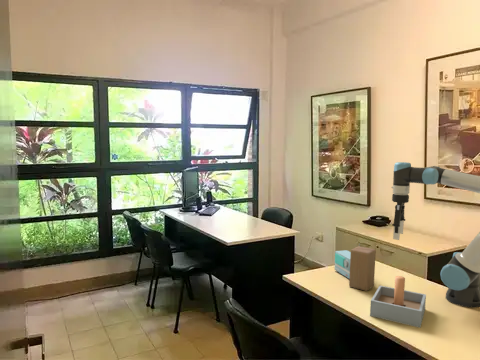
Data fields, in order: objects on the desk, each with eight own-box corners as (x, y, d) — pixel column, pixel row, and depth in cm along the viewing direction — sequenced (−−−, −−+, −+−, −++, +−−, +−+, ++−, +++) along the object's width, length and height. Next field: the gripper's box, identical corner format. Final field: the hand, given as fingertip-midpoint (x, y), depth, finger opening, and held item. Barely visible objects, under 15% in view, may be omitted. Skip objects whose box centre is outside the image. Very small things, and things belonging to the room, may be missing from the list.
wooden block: (356, 281, 208) (357, 245, 205) (374, 286, 201) (376, 249, 199) (348, 286, 200) (350, 249, 198) (367, 292, 194) (369, 253, 191)
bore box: (425, 309, 175) (426, 294, 174) (420, 327, 158) (421, 311, 157) (378, 299, 185) (379, 285, 184) (369, 315, 168) (370, 300, 167)
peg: (403, 311, 172) (405, 277, 170) (402, 315, 168) (404, 279, 167) (393, 309, 174) (396, 275, 172) (392, 313, 170) (394, 278, 169)
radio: (332, 271, 223) (333, 237, 221) (346, 269, 226) (347, 236, 224) (347, 281, 208) (349, 244, 206) (362, 279, 211) (364, 243, 209)
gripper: (396, 190, 201) (393, 230, 203) (388, 196, 179) (385, 240, 182) (411, 191, 197) (409, 232, 200) (405, 197, 176) (403, 243, 178)
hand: (398, 236), depth 191 cm, fingers open, 13 cm apart
